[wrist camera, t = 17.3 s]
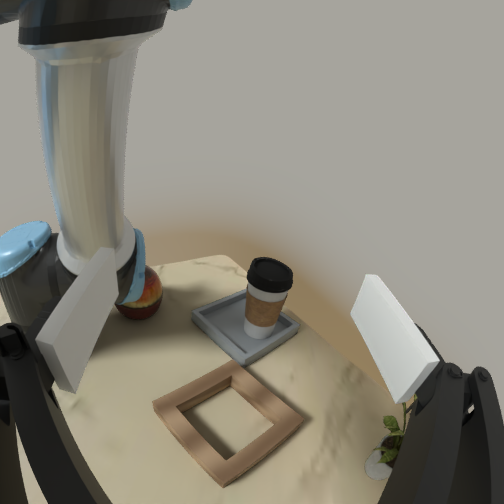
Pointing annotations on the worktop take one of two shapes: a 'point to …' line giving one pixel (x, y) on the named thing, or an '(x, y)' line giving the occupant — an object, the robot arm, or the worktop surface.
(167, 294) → the worktop surface
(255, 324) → the coffee cup
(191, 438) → the square wooden frame
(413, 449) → the robot arm
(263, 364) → the worktop surface
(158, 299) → the vase
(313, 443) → the worktop surface
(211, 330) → the tray
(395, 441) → the house plant
